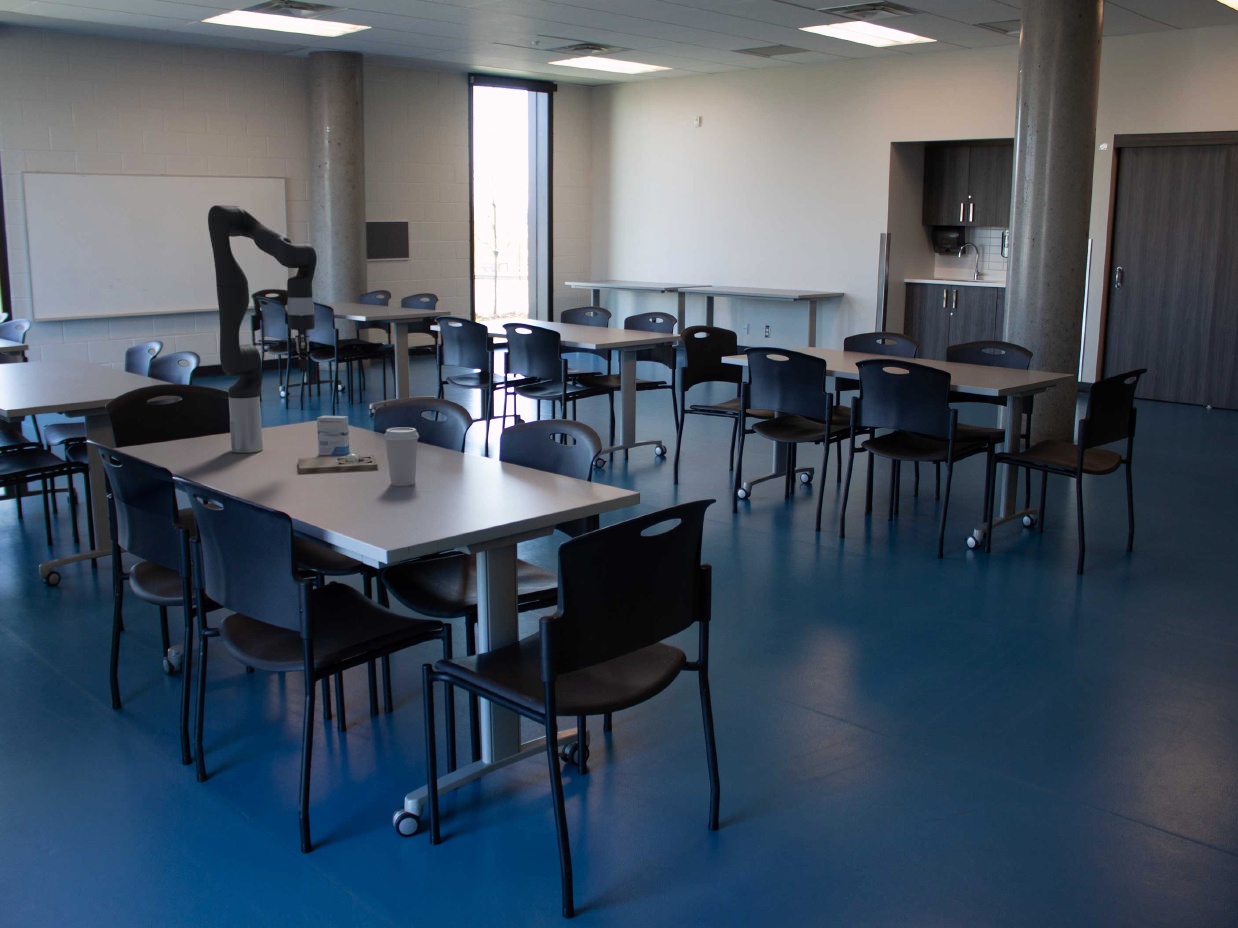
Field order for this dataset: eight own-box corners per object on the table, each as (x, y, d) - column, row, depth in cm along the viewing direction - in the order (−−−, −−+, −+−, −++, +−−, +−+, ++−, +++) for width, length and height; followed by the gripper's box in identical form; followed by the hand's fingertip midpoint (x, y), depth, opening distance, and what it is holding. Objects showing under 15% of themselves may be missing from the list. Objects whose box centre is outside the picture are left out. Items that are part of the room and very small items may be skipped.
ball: (361, 459, 320) (354, 468, 320) (360, 457, 324) (353, 466, 324) (351, 452, 319) (344, 462, 319) (350, 450, 322) (343, 460, 322)
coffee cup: (427, 481, 301) (425, 428, 298) (409, 488, 292) (407, 433, 289) (396, 478, 304) (394, 426, 301) (378, 485, 295) (376, 431, 292)
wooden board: (299, 473, 310) (298, 468, 310) (298, 463, 324) (298, 458, 324) (377, 469, 316) (377, 464, 316) (373, 459, 330) (373, 454, 330)
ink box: (350, 452, 341) (348, 415, 339) (344, 455, 337) (343, 418, 334) (323, 452, 342) (322, 415, 340) (318, 454, 338) (316, 417, 335)
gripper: (287, 311, 324) (290, 369, 328) (287, 314, 312) (291, 374, 315) (313, 311, 326) (316, 369, 330) (314, 314, 314) (317, 374, 317)
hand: (303, 371), depth 322 cm, fingers closed
